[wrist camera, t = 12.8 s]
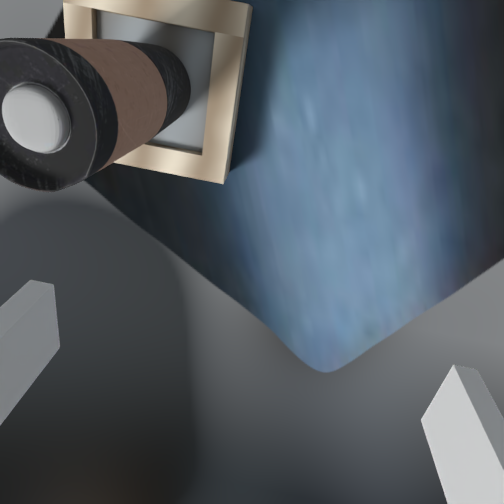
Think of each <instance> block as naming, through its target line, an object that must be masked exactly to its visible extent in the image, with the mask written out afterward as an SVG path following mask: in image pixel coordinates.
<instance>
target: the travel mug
mask: <svg viewBox="0 0 504 504" xmlns="http://www.w3.org/2000/svg"><path fill="white" fill-rule="evenodd" d="M190 94H191V85H190V79H189V76H188V73H187V70H186V69H185V67H184V65H183V63H182V62H181V61H180V59H179V58H178V57H177V56H176V55H175V54H174V53H172V52H171V51H169V50H168V49H166V48H164V47H161V46H158V45H154V44H148V43H140V42H131V41H123V40H114V39H50V38H41V39H40V38H5V39H0V175H2V176H3V177H5V178H6V179H8V180H10V181H11V182H13V183H15V184H18V185H20V186H22V187H25V188H28V189H32V190H36V191H42V192H55V191H58V190H61V189H63V188H66V187H69V186H72V185H74V184H77V183H79V182H81V181H83V180H84V179H86V178H88V177H89V176H91V175H93V174H94V173H96V172H98V171H99V170H101V169H103V168H104V167H106V166H108V165H109V164H111V163H113V162H114V161H116V160H118V159H119V158H121V157H123V156H124V155H126V154H128V153H129V152H131V151H133V150H134V149H136V148H138V147H140V146H141V145H143V144H145V143H146V142H148V141H149V140H151V139H152V138H153V137H155V136H156V135H157V134H159V133H160V132H161V131H163V130H164V129H165V128H167V127H168V126H169V125H171V124H172V123H173V122H174V121H176V120H177V119H178V118H179V117H180V116H181V115H182V114H183V113H184V111H185V110H186V108H187V106H188V103H189V100H190Z"/></svg>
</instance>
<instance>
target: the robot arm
mask: <svg viewBox="0 0 504 504" xmlns="http://www.w3.org/2000/svg"><path fill="white" fill-rule="evenodd" d="M59 348H60V344H59V333H58V323H57V313H56V303H55V293H54V285H53V284H49V283H44V282H39V281H33V280H30V281H29V282H28V283H27V284H25V285H24V286H23V287H22V288H21V289H20V290H19V291H18V292H17V293H15V294H14V296H12V297H11V298H10V299H9V300H8V301H7V302H6V303H4V304H3V305H2V306H1V307H0V425H1V423H2V422H3V421H4V420H5V418H6V417H7V416H8V414H9V413H10V412H11V410H12V409H13V408H14V406H15V405H16V404H17V403H18V401H19V400H20V399H21V397H22V396H23V395H24V393H25V392H26V391H27V389H28V388H29V387H30V386H31V384H32V383H33V382H34V380H35V379H36V377H37V376H38V375H39V374H40V373H41V371H42V370H43V369H44V367H45V366H46V365H47V363H48V362H49V361H50V359H51V358H52V357H53V356H54V354H55V353H56V352H57V350H58V349H59ZM421 422H422V425H423V428H424V431H425V434H426V437H427V441H428V443H429V447H430V450H431V452H432V456H433V459H434V462H435V465H436V469H437V471H438V475H439V478H440V481H441V484H442V487H443V490H444V493H445V496H446V500H447V503H448V504H504V419H503V417H502V415H501V413H500V411H499V409H498V407H497V406H496V404H495V402H494V400H493V398H492V396H491V395H490V393H489V391H488V389H487V387H486V385H485V383H484V382H483V380H482V378H481V376H480V374H479V372H478V370H477V369H473V368H468V367H463V366H458V365H453V366H452V368H451V370H450V371H449V373H448V375H447V376H446V378H445V380H444V382H443V383H442V385H441V387H440V389H439V390H438V392H437V394H436V395H435V397H434V399H433V400H432V402H431V404H430V406H429V407H428V409H427V411H426V412H425V414H424V416H423V417H422V419H421Z"/></svg>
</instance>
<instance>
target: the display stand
mask: <svg viewBox="0 0 504 504" xmlns="http://www.w3.org/2000/svg"><path fill="white" fill-rule="evenodd" d="M63 8H64V24H65V39H114V40H123V41H131V42H140V43H148V44H154V45H158V46H161V47H164V48H166V49H168V50H169V51H171V52H172V53H174V54H175V55H176V56H177V57H178V58H179V59H180V61H181V62H182V63H183V65H184V67H185V69H186V70H187V73H188V76H189V79H190V85H191V94H190V100H189V103H188V106H187V108H186V110H185V111H184V113H183V114H182V115H181V116H180V117H179V118H178V119H177V120H176V121H174V122H173V123H172V124H171V125H169V126H168V127H167V128H165V129H164V130H163V131H161V132H160V133H159V134H157V135H156V136H155V137H153V138H152V139H151V140H149V141H148V142H146V143H145V144H143V145H141V146H140V147H138V148H136V149H134V150H133V151H131V152H129V153H128V154H126V155H124V156H123V157H121V158H119V159H118V160H116V161H114V163H119V164H125V165H130V166H135V167H140V168H145V169H150V170H155V171H160V172H165V173H170V174H175V175H180V176H185V177H190V178H195V179H200V180H206V181H211V182H216V183H221V184H223V183H224V181H225V180H226V178H227V176H228V174H229V170H230V163H231V156H232V149H233V142H234V135H235V128H236V121H237V114H238V107H239V100H240V93H241V86H242V80H243V73H244V66H245V59H246V52H247V45H248V38H249V31H250V24H251V17H252V10H253V7H252V6H251V5H249V4H246V3H241V2H236V1H231V0H63Z"/></svg>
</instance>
